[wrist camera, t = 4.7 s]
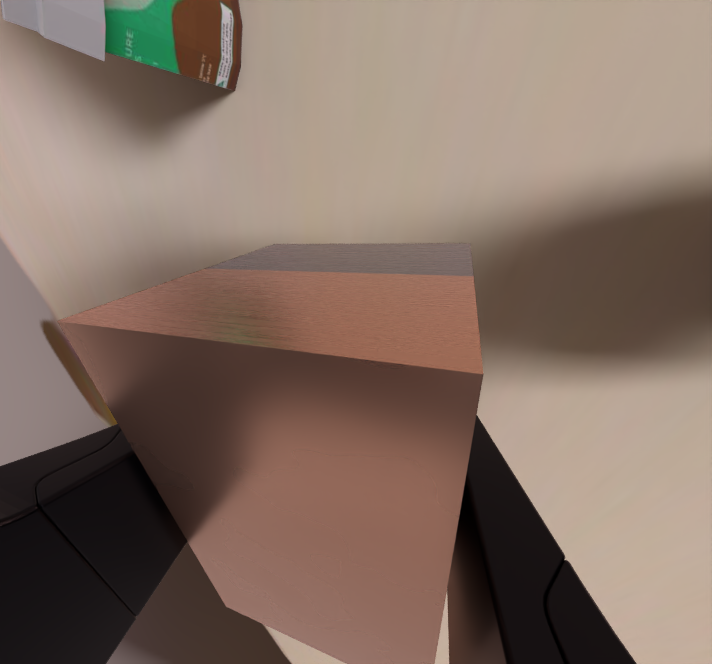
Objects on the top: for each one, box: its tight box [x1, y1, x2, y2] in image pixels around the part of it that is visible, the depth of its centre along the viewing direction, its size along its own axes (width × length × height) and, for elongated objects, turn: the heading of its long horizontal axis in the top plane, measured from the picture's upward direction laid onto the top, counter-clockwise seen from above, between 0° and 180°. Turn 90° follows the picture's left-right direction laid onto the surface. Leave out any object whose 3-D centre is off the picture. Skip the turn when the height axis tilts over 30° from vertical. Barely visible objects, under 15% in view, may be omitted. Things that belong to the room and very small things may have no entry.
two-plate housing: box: [57, 243, 483, 664], centre depth 7 cm, size 5×8×5 cm, turn 3°
